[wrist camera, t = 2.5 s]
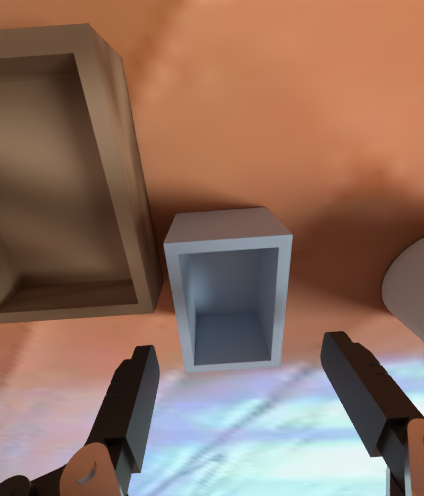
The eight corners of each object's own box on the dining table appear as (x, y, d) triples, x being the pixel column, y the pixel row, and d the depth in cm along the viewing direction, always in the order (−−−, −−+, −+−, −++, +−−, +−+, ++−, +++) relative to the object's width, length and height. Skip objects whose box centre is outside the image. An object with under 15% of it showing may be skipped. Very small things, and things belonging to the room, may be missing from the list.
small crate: (176, 213, 15) (163, 243, 10) (266, 206, 15) (292, 234, 10) (190, 317, 19) (185, 372, 14) (261, 312, 19) (280, 366, 14)
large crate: (-85, 73, 11) (-199, 44, 8) (121, 57, 11) (88, 23, 8) (26, 291, 17) (-15, 324, 14) (163, 281, 17) (153, 312, 14)
